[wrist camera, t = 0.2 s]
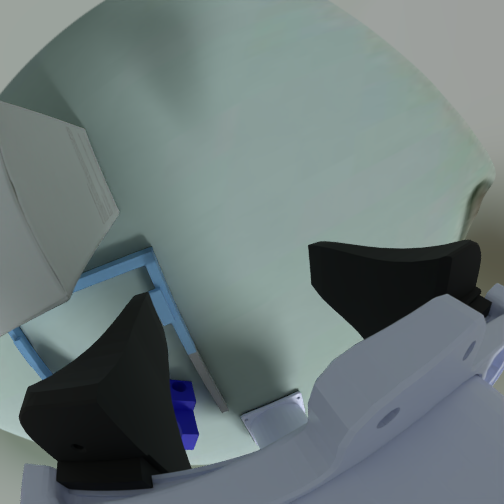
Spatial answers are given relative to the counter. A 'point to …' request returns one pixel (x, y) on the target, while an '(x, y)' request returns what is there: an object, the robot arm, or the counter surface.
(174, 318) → the blue grey open frame
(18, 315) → the supplement box
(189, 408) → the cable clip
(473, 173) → the counter surface
